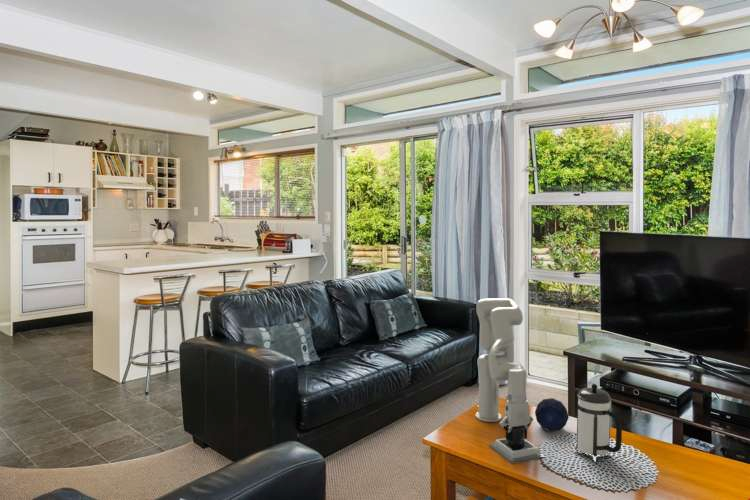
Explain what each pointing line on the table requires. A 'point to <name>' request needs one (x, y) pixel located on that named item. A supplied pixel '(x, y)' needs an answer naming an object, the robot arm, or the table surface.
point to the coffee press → (596, 422)
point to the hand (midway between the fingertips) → (516, 438)
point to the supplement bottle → (517, 438)
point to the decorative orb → (551, 414)
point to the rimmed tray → (515, 451)
